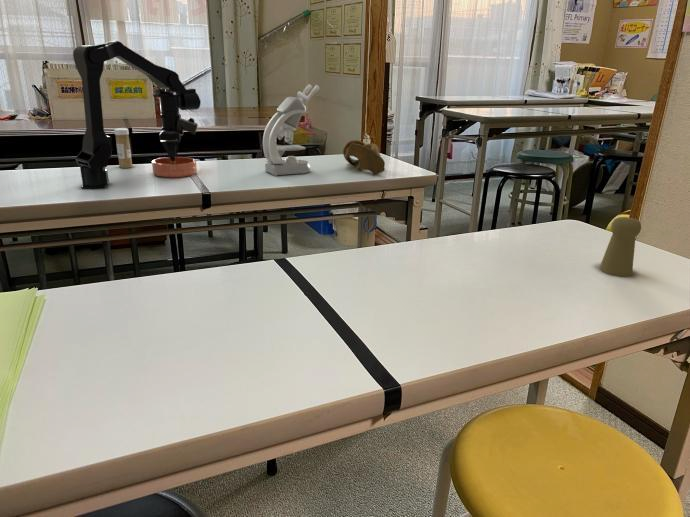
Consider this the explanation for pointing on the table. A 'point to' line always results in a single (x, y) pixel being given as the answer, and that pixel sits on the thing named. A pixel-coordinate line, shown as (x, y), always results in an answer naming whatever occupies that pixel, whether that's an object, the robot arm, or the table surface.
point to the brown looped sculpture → (364, 156)
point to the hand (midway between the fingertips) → (174, 158)
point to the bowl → (174, 167)
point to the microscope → (286, 135)
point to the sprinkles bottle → (123, 147)
